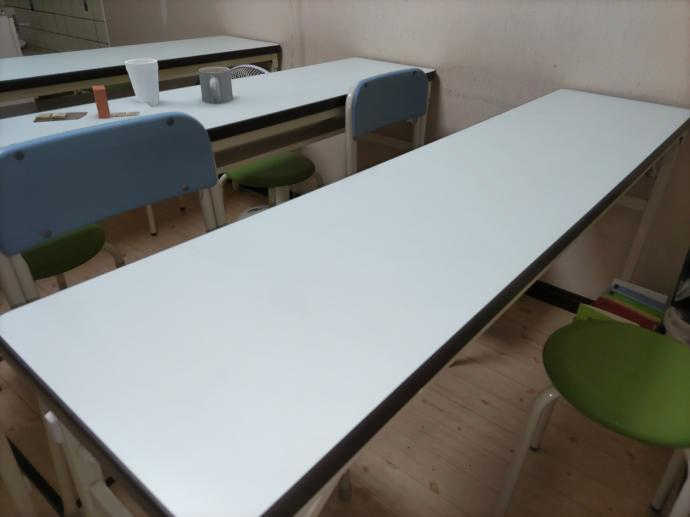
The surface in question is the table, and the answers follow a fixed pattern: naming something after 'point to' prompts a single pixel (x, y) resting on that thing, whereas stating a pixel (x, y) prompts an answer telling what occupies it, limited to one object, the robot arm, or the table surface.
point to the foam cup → (144, 80)
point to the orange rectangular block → (101, 102)
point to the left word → (59, 116)
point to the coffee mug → (216, 84)
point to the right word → (120, 114)
